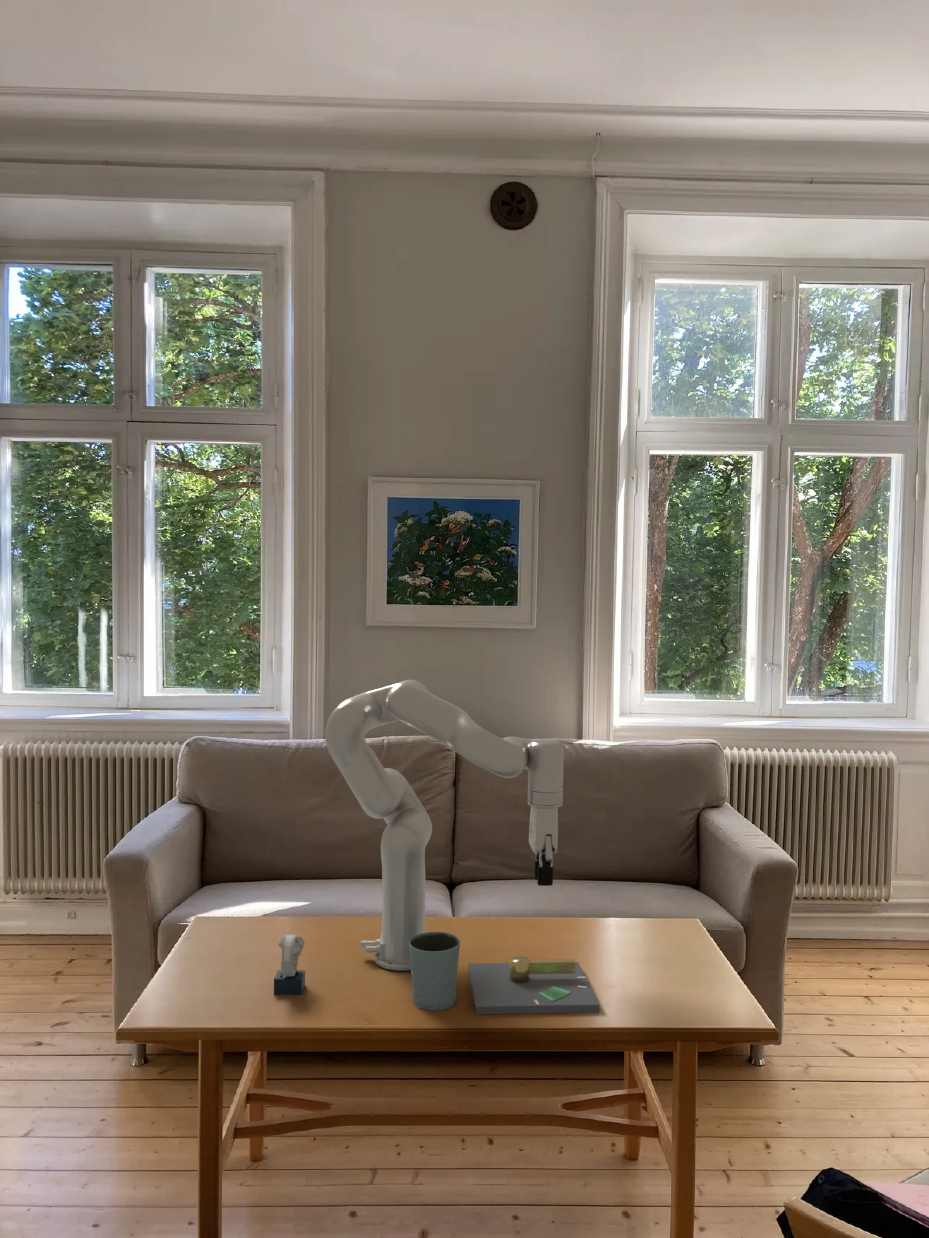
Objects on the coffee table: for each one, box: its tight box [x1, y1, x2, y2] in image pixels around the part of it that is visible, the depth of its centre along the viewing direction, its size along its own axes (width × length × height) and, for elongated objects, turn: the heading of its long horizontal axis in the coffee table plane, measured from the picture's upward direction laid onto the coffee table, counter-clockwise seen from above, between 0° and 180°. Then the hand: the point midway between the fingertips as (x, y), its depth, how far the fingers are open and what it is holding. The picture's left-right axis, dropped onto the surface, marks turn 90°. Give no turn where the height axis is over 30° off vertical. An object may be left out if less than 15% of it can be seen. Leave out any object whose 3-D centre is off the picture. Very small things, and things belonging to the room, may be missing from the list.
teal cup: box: [409, 931, 461, 1011], centre depth 174 cm, size 10×10×12 cm
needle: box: [509, 955, 576, 982], centre depth 182 cm, size 14×4×4 cm, turn 94°
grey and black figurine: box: [273, 933, 306, 996], centre depth 178 cm, size 6×8×11 cm
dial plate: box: [467, 961, 600, 1015], centre depth 180 cm, size 24×20×2 cm
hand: (543, 881), depth 190 cm, fingers open, 3 cm apart
